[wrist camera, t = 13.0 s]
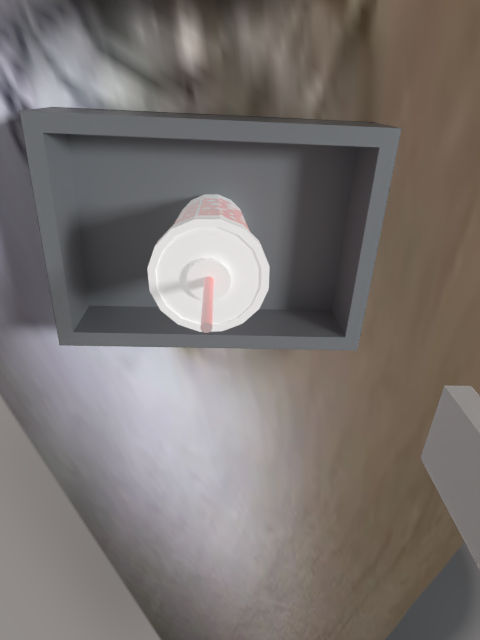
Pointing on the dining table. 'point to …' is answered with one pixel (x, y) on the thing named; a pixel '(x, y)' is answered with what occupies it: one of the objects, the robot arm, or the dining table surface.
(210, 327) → the beverage cup
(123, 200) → the box
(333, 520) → the dining table surface
